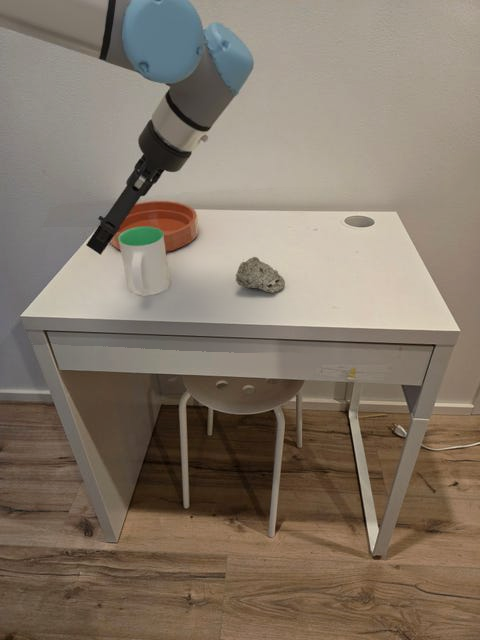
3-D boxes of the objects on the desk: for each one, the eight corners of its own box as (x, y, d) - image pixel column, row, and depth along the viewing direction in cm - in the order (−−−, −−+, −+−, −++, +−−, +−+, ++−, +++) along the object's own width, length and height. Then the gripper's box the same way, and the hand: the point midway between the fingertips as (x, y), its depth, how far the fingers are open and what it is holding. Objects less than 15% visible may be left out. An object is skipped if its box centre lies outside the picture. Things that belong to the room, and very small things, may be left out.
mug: (167, 306, 79) (159, 255, 73) (122, 308, 79) (111, 257, 73) (170, 272, 89) (164, 225, 83) (131, 274, 89) (122, 227, 82)
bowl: (107, 260, 94) (103, 241, 91) (112, 222, 110) (108, 205, 107) (202, 250, 97) (201, 232, 94) (193, 214, 113) (191, 197, 110)
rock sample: (283, 287, 76) (256, 245, 77) (250, 310, 79) (224, 270, 80) (298, 282, 86) (274, 245, 87) (267, 303, 89) (244, 267, 90)
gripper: (171, 189, 56) (101, 282, 69) (209, 123, 74) (148, 206, 87) (121, 150, 54) (57, 254, 66) (173, 92, 72) (115, 182, 85)
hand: (109, 227), depth 77 cm, fingers open, 13 cm apart
